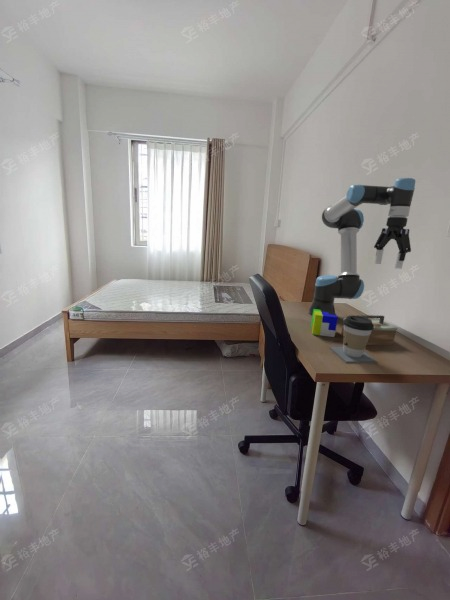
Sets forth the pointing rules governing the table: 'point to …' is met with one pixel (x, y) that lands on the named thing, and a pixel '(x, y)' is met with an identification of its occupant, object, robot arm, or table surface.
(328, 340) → the table surface
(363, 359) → the slate mat
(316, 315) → the puzzle toy
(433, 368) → the table surface
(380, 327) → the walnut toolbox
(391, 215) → the robot arm
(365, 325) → the coffee cup
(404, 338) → the table surface
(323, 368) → the table surface
